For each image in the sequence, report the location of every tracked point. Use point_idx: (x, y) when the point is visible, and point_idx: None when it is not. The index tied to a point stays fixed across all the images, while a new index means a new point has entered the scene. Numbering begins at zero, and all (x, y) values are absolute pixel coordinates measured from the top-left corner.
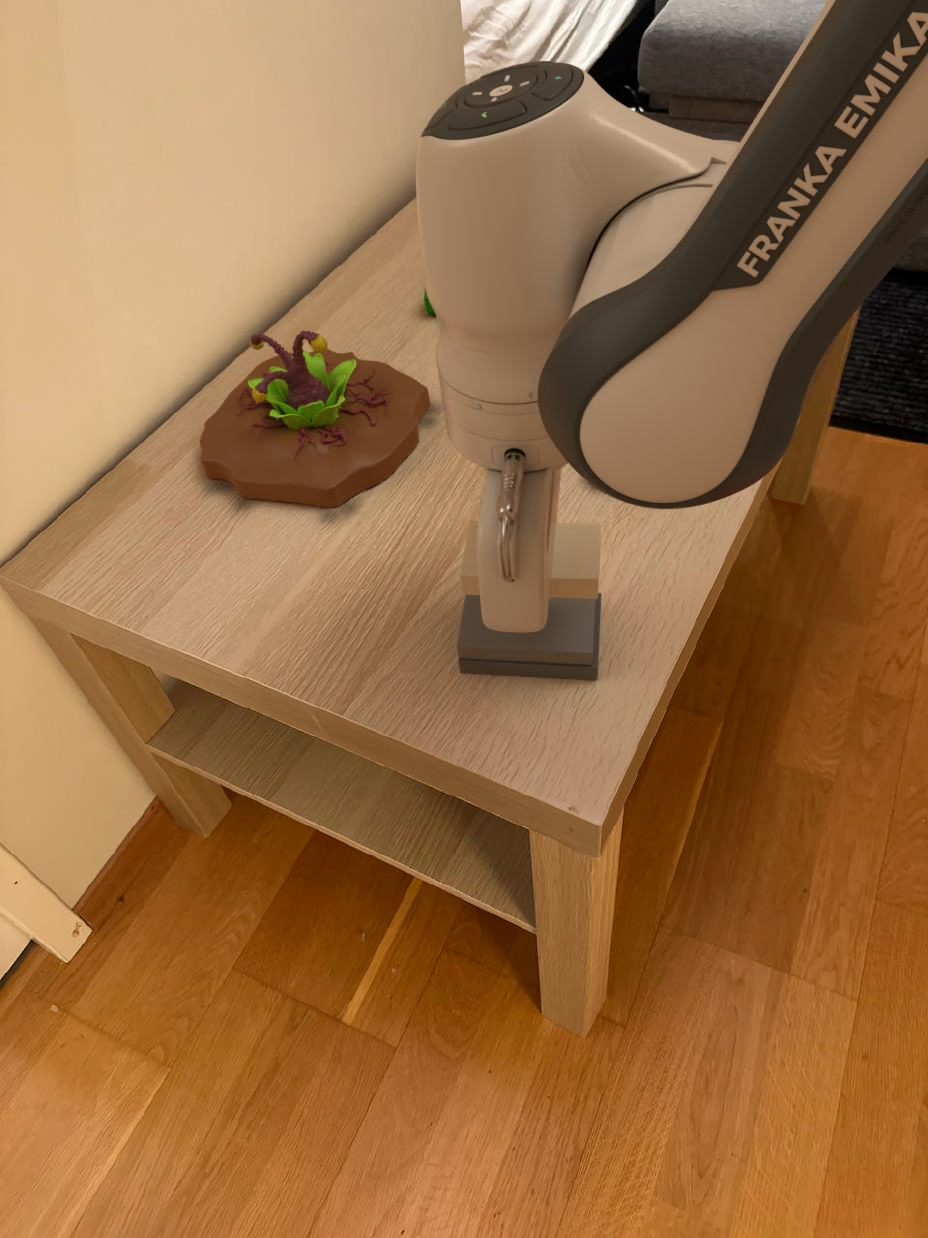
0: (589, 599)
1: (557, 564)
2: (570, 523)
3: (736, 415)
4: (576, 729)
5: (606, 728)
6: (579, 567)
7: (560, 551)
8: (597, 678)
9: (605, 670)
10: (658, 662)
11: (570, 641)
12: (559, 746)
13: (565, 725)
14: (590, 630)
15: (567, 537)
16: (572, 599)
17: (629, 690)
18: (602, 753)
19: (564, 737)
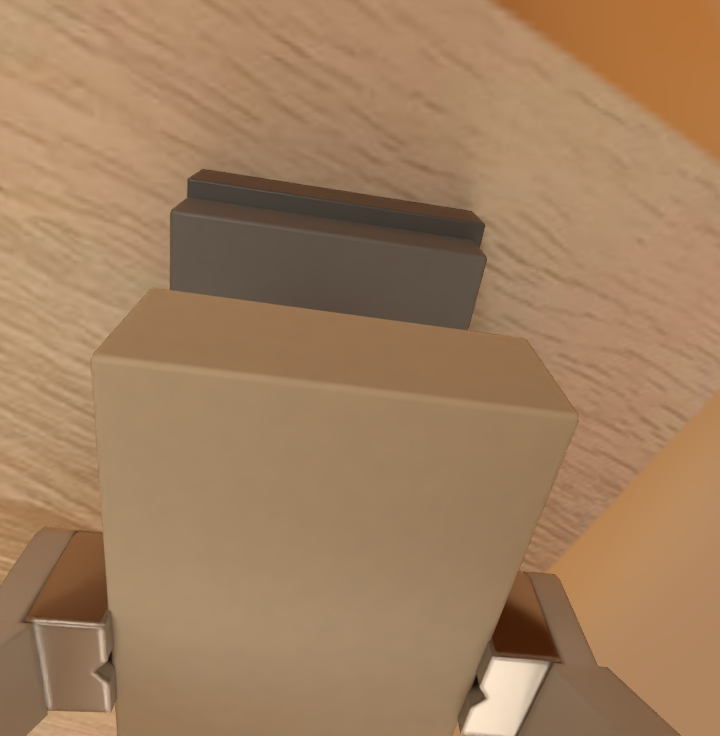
0: (264, 244)
1: (420, 585)
2: (104, 517)
3: None
4: (605, 279)
5: (623, 204)
6: (467, 500)
7: (328, 570)
8: (473, 213)
9: (441, 183)
10: (437, 5)
11: (432, 319)
12: (638, 321)
13: (586, 303)
14: (396, 254)
15: (223, 537)
16: (262, 298)
17: (521, 121)
18: (690, 223)
19: (618, 308)
